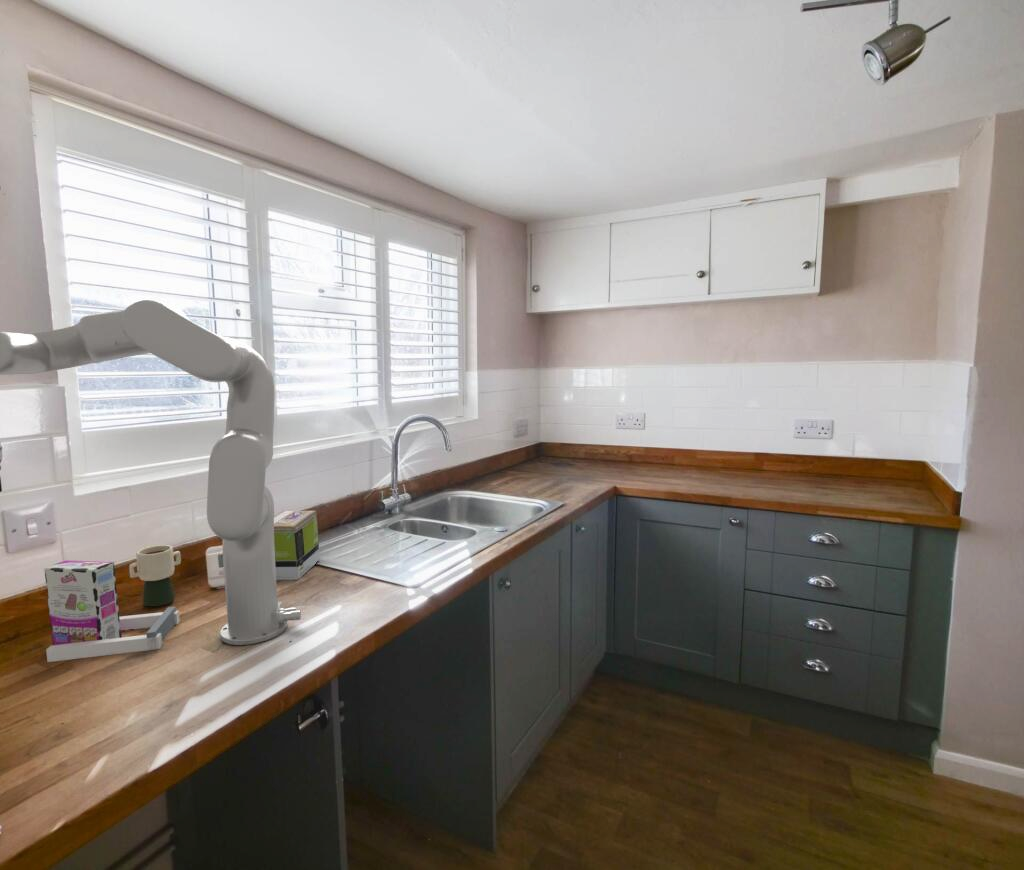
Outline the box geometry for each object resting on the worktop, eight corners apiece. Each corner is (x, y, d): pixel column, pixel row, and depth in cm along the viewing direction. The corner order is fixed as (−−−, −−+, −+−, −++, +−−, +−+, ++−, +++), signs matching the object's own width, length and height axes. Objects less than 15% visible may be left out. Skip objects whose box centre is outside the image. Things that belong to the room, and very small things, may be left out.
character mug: (175, 592, 135) (171, 540, 133) (191, 598, 131) (187, 545, 129) (125, 609, 125) (120, 553, 124) (141, 616, 122) (135, 559, 120)
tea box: (286, 560, 157) (282, 509, 155) (320, 560, 156) (318, 509, 154) (259, 580, 142) (256, 524, 140) (298, 581, 141) (295, 524, 139)
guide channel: (179, 621, 119) (178, 606, 119) (159, 648, 107) (158, 631, 107) (79, 632, 114) (77, 616, 114) (47, 662, 103) (45, 644, 102)
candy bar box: (123, 639, 111) (115, 561, 109) (102, 652, 106) (93, 570, 104) (75, 636, 113) (66, 558, 111) (51, 648, 108) (42, 567, 106)
